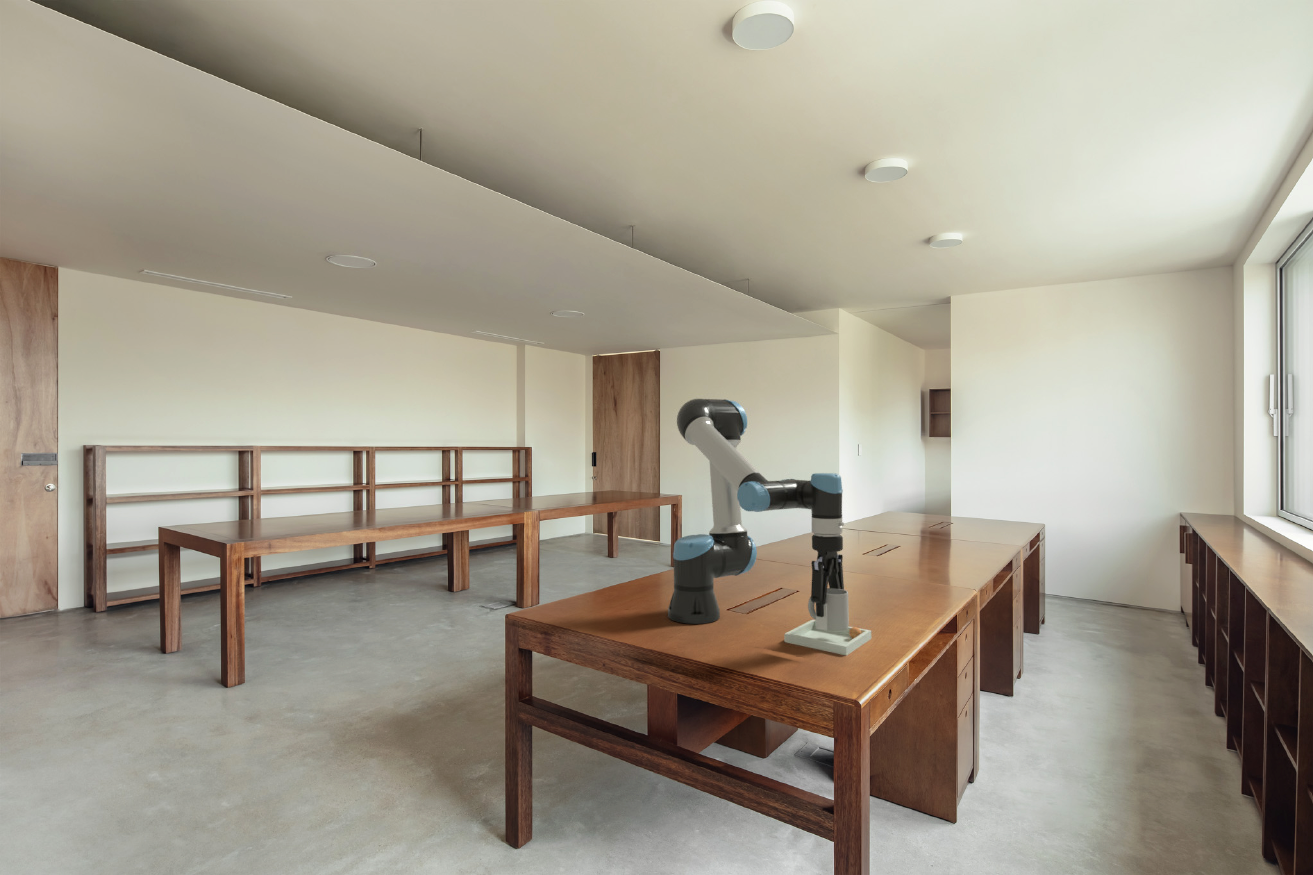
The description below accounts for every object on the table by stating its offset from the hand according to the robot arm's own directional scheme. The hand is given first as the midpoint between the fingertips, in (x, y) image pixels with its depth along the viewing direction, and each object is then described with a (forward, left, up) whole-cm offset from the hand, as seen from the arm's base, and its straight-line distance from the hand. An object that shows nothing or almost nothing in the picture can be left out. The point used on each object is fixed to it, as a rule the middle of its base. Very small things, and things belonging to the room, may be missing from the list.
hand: (828, 625), depth 154 cm
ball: (+5, +5, -4) cm, 8 cm away
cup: (0, 0, 0) cm, 0 cm away
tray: (0, 0, -5) cm, 5 cm away
